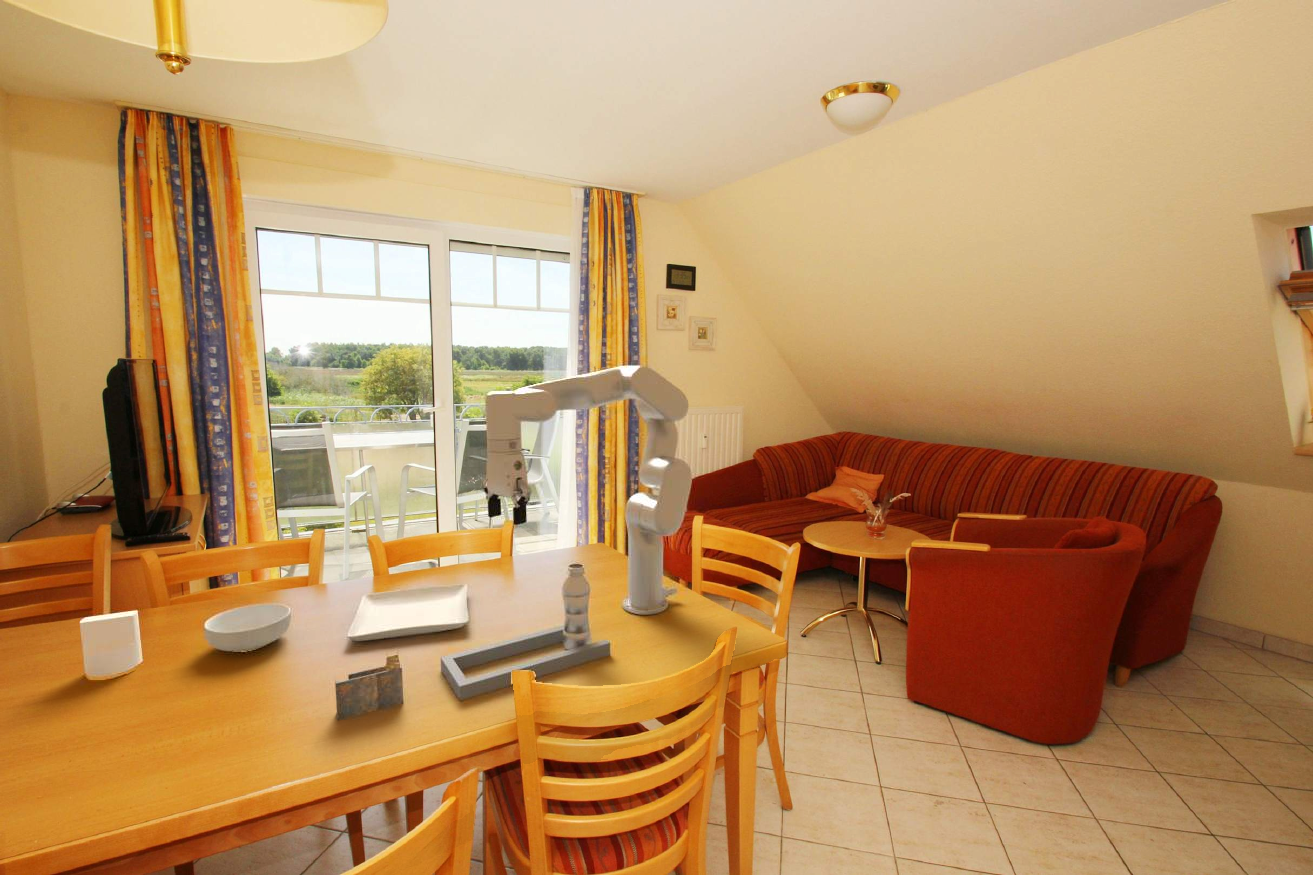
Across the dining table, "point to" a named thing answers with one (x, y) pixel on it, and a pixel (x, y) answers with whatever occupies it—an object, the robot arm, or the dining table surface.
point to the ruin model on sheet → (370, 689)
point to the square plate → (410, 612)
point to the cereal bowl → (247, 627)
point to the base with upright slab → (111, 643)
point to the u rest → (502, 677)
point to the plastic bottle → (576, 608)
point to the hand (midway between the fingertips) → (507, 519)
